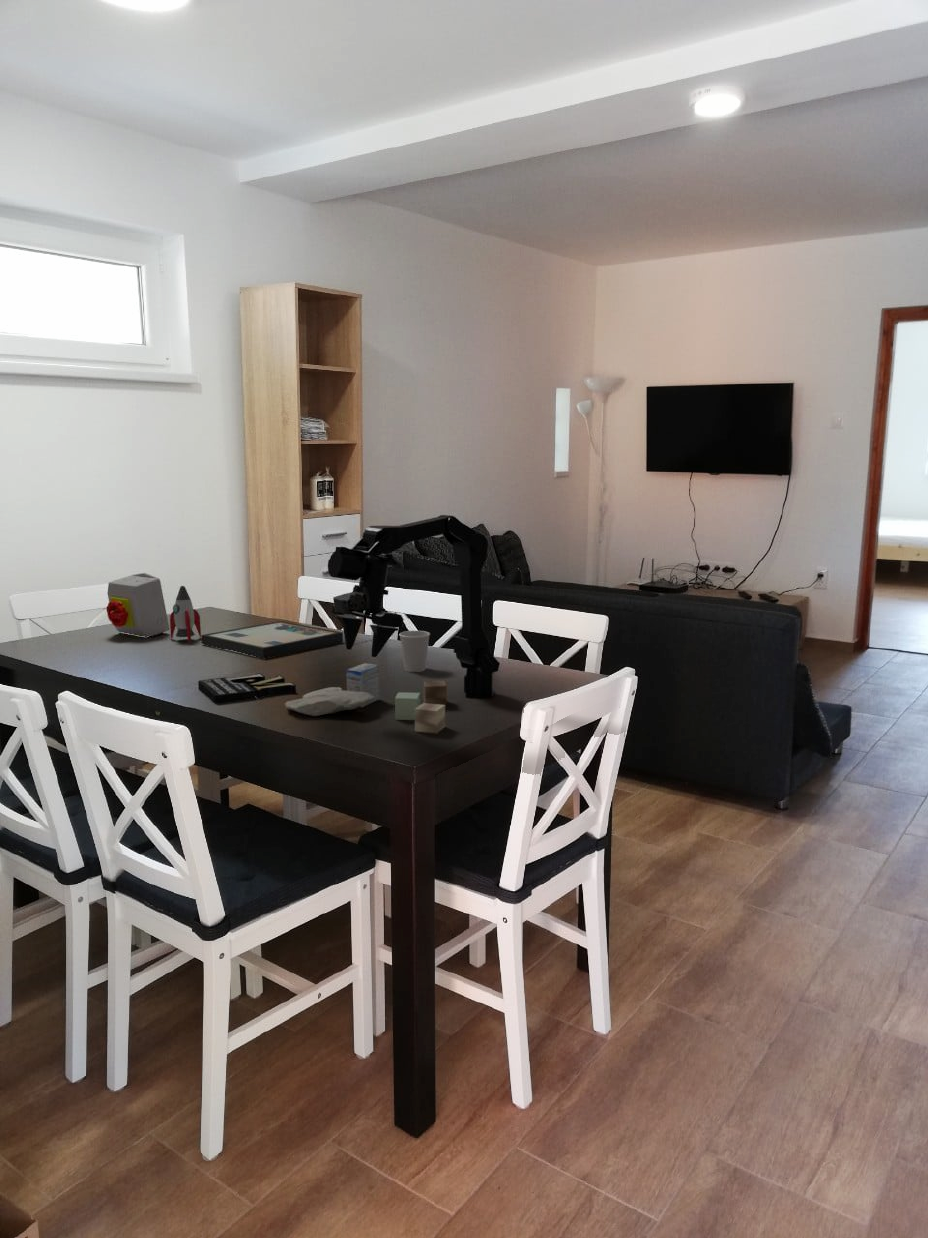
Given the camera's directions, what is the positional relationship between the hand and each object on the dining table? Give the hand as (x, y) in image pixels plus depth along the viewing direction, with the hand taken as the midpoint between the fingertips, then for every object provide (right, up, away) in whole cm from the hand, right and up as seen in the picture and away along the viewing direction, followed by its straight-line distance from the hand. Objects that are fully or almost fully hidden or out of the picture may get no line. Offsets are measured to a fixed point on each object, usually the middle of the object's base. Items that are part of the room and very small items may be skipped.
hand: (361, 653), depth 207 cm
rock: (-10, -14, +9) cm, 19 cm away
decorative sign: (-31, -11, +27) cm, 43 cm away
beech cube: (+15, -16, -5) cm, 23 cm away
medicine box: (-1, -13, +16) cm, 20 cm away
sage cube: (+10, -15, +4) cm, 18 cm away
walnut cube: (+16, -13, +14) cm, 25 cm away
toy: (-64, +1, +88) cm, 109 cm away
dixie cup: (+9, -6, +48) cm, 50 cm away
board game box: (-36, -1, +82) cm, 90 cm away
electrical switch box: (-83, +2, +96) cm, 127 cm away
